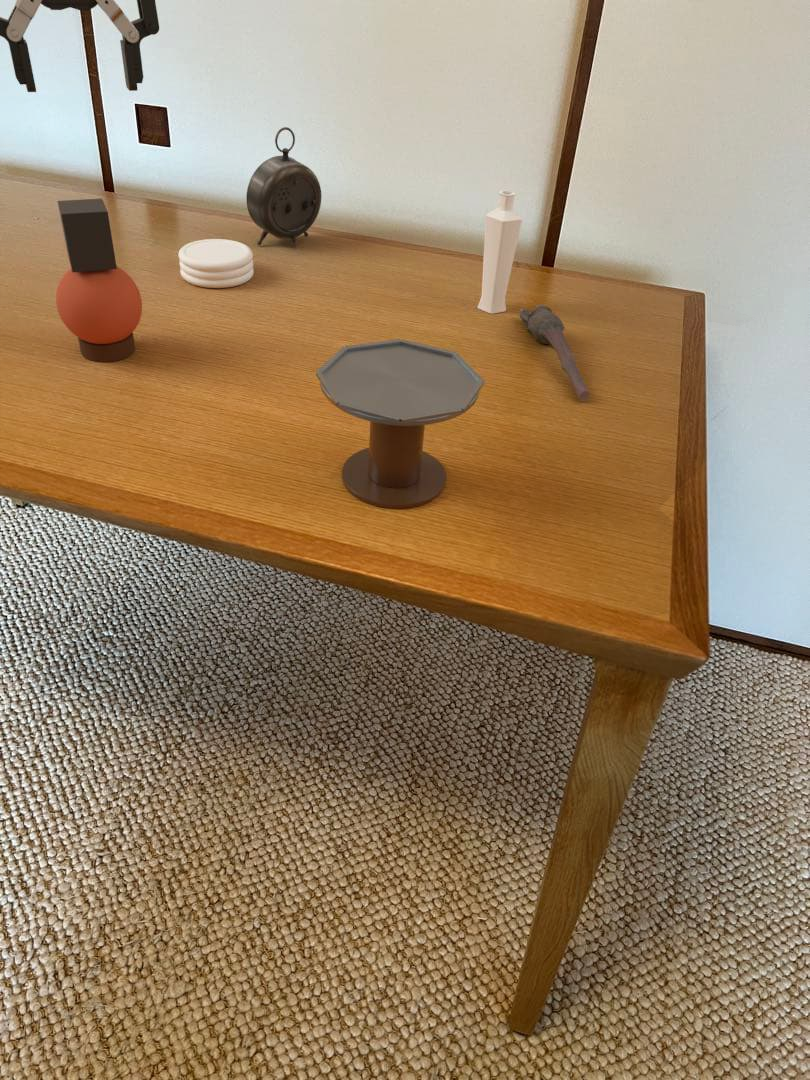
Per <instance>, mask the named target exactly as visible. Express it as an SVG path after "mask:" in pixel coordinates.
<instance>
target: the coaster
mask: <svg viewBox="0 0 810 1080" xmlns="http://www.w3.org/2000/svg"><path fill="white" fill-rule="evenodd" d="M253 258H254V254H253V251H252V249H251V248H250V247H249V246H248V245H246V244H244V243H242V242H240V241H236V240H231V239H225V238H206V239H198V240H195V241H191V242H189V243H186V244H185V245H183V246H182V247H181V248H180V249H179V251H178V259H179V267H180V269H179V272H180V275H181V277H182V279H183V280H185V281H186V282H187V283H189V284H191V285H193V286H197V287H201V288H208V289H227V288H233V287H238V286H241V285H243V284H245V283H247V282H249V281H250V280H251V279H252V278H253V277H254V275H255V274H254V273H255V272H254V271H255V269H254V260H253Z"/></svg>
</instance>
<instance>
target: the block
mask: <svg viewBox="0 0 810 1080" xmlns="http://www.w3.org/2000/svg"><path fill="white" fill-rule="evenodd" d="M57 206H58V213H59V215H60V221H61V226H62V233H63V237H64V242H65V248H66V252H67V258H68V261H69V265H70V269H72V272H73V273H74V272H86V271H98V270H111V269H117V267H118V266H117V260H116V254H115V249H114V242H113V237H112V230H111V222H110V217H109V212H108V209H107V207H106V204H105V202H104V199H103V198H90V199H89V198H86V199H84V198H83V199H68V200H67V199H66V200H65V199H64V200H57Z"/></svg>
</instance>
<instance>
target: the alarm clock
mask: <svg viewBox="0 0 810 1080" xmlns="http://www.w3.org/2000/svg"><path fill="white" fill-rule="evenodd" d="M285 130H286V131H288V132H290V134H291V136H292V144H291V146H290V147H289V148H287V147H284V148H282V149H281V148H280V147H279V144H278V138H279V136H280V134H281V133H282V132H283V131H285ZM295 143H296V136H295V133H294V131H293V129H291V128H290V127H287V126H284V127H281V128H280V129H278V131H277V132H276V134H275V138H274V144H275V147H276V149H277V150H278V151H279V152H280V153H282V155H275V156H272V157H270V158H268V159H267V160H264V161H263V162H262V163H260V165H258V167H257V168H256V169H255V170H254V172H253V173H252V175H251V177H250V179H249V182H248V186H247V191H246V199H245V200H246V207H247V208H246V209H247V211H248V215H249V217H250V218H251V220H252V222H254V224H255V225H256V226H257V227H259V228H260V229H262V233H261V235H260V238H259V240H257V245H258V246H261V245H262V242H263V241H264V240H265V239H266V237H267V236H268V234H270V235H271V236H273V237H274V238H277V239H281V240H290V243H291V246H292V247H293V248H296V247H297V243H296V238H297V237H299V236H301V235H304V237H306V238H307V237H309V233H308V230H309V229H310V228H311V227H312V225H313V224H314V222H315V221H316V219H317V218H318V216H319V212H320V209H321V205H322V188H321V184H320V181H319V179H318V177H317V175H316V173H315V172H314V171H313V170H312V169H311V168H310V167H308V166H307V165H305V164H304V163H301V162H300V161H298V160H296V159H294V158H293V157H291V156H289V154H290V151H292V150H293V147H294V146H295Z"/></svg>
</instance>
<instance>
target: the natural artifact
mask: <svg viewBox="0 0 810 1080" xmlns="http://www.w3.org/2000/svg"><path fill="white" fill-rule="evenodd" d="M519 311H520V312H519V318H520V319H521V320H522V322H523V324H525V325H526V326H528V327H527V328H526V332H527V333H528V334H532V337H533V339H534V340H535V341H537V342H538V343H540V344H547V345H550V344H551V346H552V348H553V349H554V351H555V353H556V355H557V358H558V360H559V362H560V365H561V370H563V371H564V372H565V374H567V377H568V378H569V380H570V382H571V385H572V387H573V389H574V391H575V393H576V395H577V397H578V398H579V401H581V402H583V403H585V402H588V401H589V399H590V395H591V393H590V391H589V389H588V388H587V387H588V386H587V385H586V383H585V382H584V379H583V378H582V375H581V374H580V371H579V369H578V366H577V363H576V358H575V355H574V354H573V352H572V350H571V347H570V345H569V343H568V341H567V339H566V337H565V335H564V330H566V327H565V326H564V323H563V321H562V320H561V318H560V317H559V316H558V315H557V314H555V313H554V312H552V311H553V310H552V309H551V308H550V307H548V305H547V306H546V305H543V304H538V305H536V306H535V308H534V309H532V310H528V308H526V309H523V308H521V309H520V310H519Z"/></svg>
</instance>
